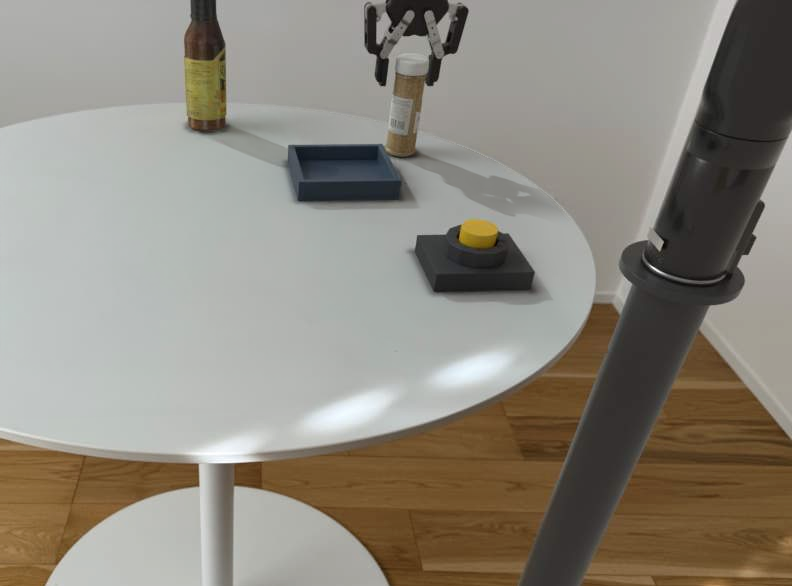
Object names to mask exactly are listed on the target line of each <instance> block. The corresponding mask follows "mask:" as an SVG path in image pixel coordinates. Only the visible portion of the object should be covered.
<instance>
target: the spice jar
mask: <svg viewBox="0 0 792 586" xmlns="http://www.w3.org/2000/svg"><path fill="white" fill-rule="evenodd" d="M394 65H395V66H394V71H395V72H394V75H395V76H394V83H393V90H392V95H391V103H390V110H389V117H388V126H387V129H388V130H387V138H386V143H385V146H384V148H385V150H386V152H387V154H388V155H389V156H390V155H391V156H393V157H400V158H405V157H410V156H412V155H414V154H415V153H416V151H417V150H416V144H417V138H418V133H419V132H418V131H419V128H420V127H419V126H420V121H421V113H422V107H423V97H424V96H423V95H424V90H425V85H426V83H425V77H426V74H427V73H428V68H429V56H426V55H423V54H421V53H420V54H419V53H412V52H411V53H409V52H408V53H402V54H399V55H398V56H396V59H395V64H394Z"/></svg>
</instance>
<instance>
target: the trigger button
mask: <svg viewBox="0 0 792 586" xmlns="http://www.w3.org/2000/svg"><path fill="white" fill-rule="evenodd" d="M461 225H462V226H461V230H460V235H459V242H461V243H462V244H464V245H466V246H469V247H473V248H478V249H485V248H491V247H494V245H495V242H496V238H497V234H498V231H499V227H498V226H497V225H496V224H495V223H493V222H491V221H488V220H484V219H478V218H477V219H476V218H474V219H467V220H464V221H463V222H462V223H461Z"/></svg>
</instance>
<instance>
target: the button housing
mask: <svg viewBox="0 0 792 586" xmlns="http://www.w3.org/2000/svg"><path fill="white" fill-rule="evenodd" d="M461 226H462V224H458V225H455V226H452V227H450V228H449V229H448V230H447V231H446V232H445V233H446V234H417V236H416V242H415V247H414V254H415V256H416V258H417V259H418V262H419V264H420V266H421V268H422V271H423V273H424V275H425V277H426V279H427V281H428V283H429V285H430V287H431V289H432V291H433V292H465V291H504V290H509V291H510V290H531V288H532V285H533V280H534V278H535V274H536V271H535V270H534V268H533V267H532V265H531V264H530V262H529V261H528V259H527V258H526V256H525V255H524V254H523V252H522V251H521V249H520V248H519V246H518V244H516V242H515V240H514V239H513V237H512V236H511V234H510V233H509V232H506V233H505V232H504V233H503V232H501V231H499V230H498V234H497V238H496V242H495V245H494V247H491V248H485V249H478V248H473V247H469V246H466V245H464V244H462V243H461V242H459V235H460V230H461Z"/></svg>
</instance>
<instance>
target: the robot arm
mask: <svg viewBox="0 0 792 586" xmlns="http://www.w3.org/2000/svg"><path fill="white" fill-rule="evenodd" d="M469 11H470V10H469V8H468V7H467V6H466V5H465V4H464V3H463V2H457V3H451V2H449V0H385V2H380V3H379V2H378V3H373V2H372V1H368V2H365V4H364V6H363V31H364V32H363V34H364V35H363V40H364V41H363V42H364V45H363V46H364V48H365V49H366V51H367V53H368V54H370V55H374V56H376V59H375V66H374V67H375V68H374V78H375V81H376V82H377V83H378V85H379V87H386V86H387V80H388V74H389V65H390V58H389V56H390V54H391V53H392V50H394V48H395V46H396V45H398V43H399V41H400V40H401V38H402V37H412V36H417V37H426V39H427V42H428V45H429V48H430V51H431V53H430V54H428V58H429V68H428V73H427V74H426V77H425V85H426V86H427V87H434V85H435V83H438V80H439V78H440V73H441V67H442V61H443V58H444V57H446V56H448V55H455V54H456V53H457V52H458V50H459V47H460V43H461V41H462V37H463V34H464V29H465V26H466V23H467V19H468V16H469ZM385 13H386V15H387V17H388V18H389V21H390V23H389V24H388V26H387V27H386V30H385V31H384V33H383V37H382V38H381V40H380V42H379V43H377V30H378V29H377V23H379V22H381V20H382V16H383V14H385ZM447 13H448V19H449V20H450V23H449V27H448V31H447V34H446V38H445V41H444V42H442V39H441V36H440V32H439V28H438V24H439V23H440V22H441V21H442V19H443V18H444V17H445V16H446V14H447ZM720 38H721V39H720V42H719V44H718V47H717V49H716V53H715V55H714V58H713V60H712V63H711V66H710V69H709V72H708V75H707V77H706V80H705V82H704V85H703V88H702V93H701V98H700V102H699V105H698V108H697V111H696V113H695V116H694V119H693V121H692V124H691V127H690V129H689V132H688V135H687V137H686V140H685V143H684V145H683V148H682V150H681V153H680V156H679V158H678V161H677V164H676V166H675V169H674V172H673V175H672V177H671V179H670V182H669V185H668V188H667V190H666V193H665V195H664V198H663V200H662V203H661V206H660V209H659V211H658V214H657V217H656V219H655V221H654V224H653V227H652V226H650V227H649V230H648V232H647V235H646V238H647V240H648V242H647V244H646V248H645V249H644V250H643V253H642V256H641V262H642V264H643V265H644V267H645V268H646V269H647V270H649V271H650V272H651V273H653V274H654V275H656V276H658V277H660V278H662V279H665V280H667V281H670V282H673V283H677V284H681V285H687V286H696V287H705V286H712V285H716V284H718V283H720V282H722V281H723V280H724V279H731V278H732V276H733V274H734V272H735V270H736V268H737V267H739V264H740V261H741V260H742V257H743V256H749V255H750V253H751V250H752V249H753V246H754V244H755V243H756V241H757V236H756V235H755V234H754V231H755V230H756V227H757V225H758V223H759V221H760V219H761V217H762V214H763V213H764V210H765V208H766V203H765V202H764V201H763V199H761V198H762V196H763V193H764V191H765V189H766V188H767V185H768V183H769V181H770V178H771V176H772V174H773V172H774V170H775V168H776V166H777V163H778V161H779V159H780V156H781V155H782V152H783V150H784V148H785V146H786V144H787V142H788V140H789V137H790V135H791V134H792V0H736V1H735V3H734V6H733V8H732V10H731V13H730V15H729V18H728V20H727V22H726V25H725V28H724V30H723V33H722V36H721V37H720Z"/></svg>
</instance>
